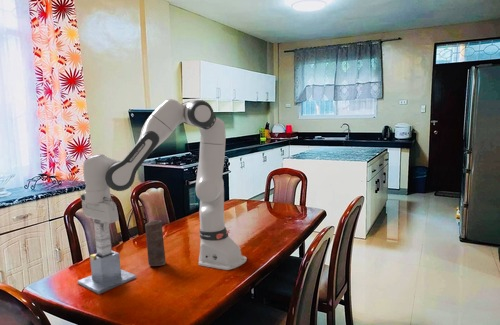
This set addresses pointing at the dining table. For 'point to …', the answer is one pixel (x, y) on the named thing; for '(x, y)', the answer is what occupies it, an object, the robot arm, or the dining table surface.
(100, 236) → the column
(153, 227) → the grey upright block
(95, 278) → the stand
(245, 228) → the dining table surface
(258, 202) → the dining table surface
